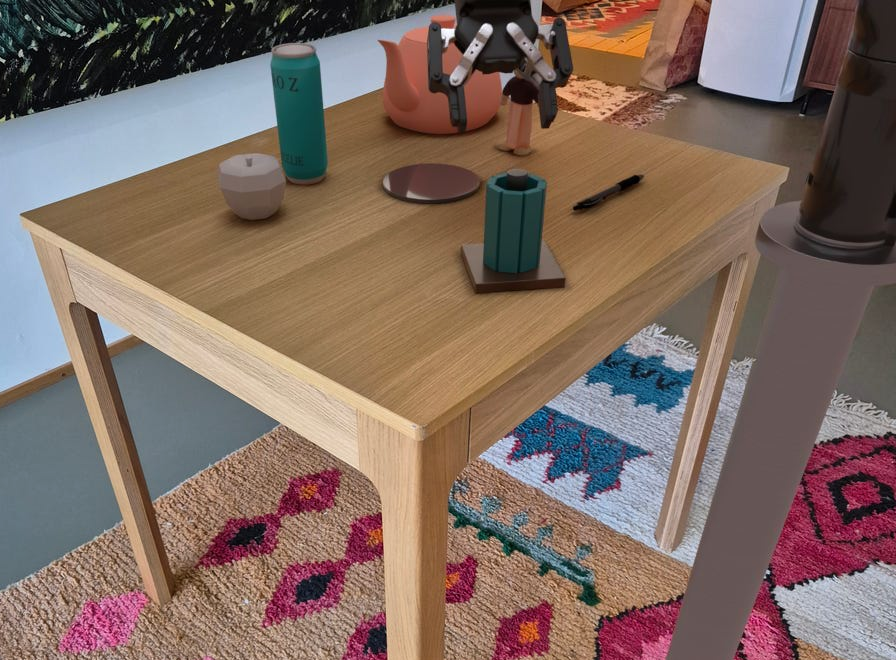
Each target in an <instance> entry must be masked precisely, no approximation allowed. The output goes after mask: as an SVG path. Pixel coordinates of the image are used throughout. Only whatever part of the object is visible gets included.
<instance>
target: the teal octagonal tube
mask: <svg viewBox="0 0 896 660" xmlns="http://www.w3.org/2000/svg"><path fill="white" fill-rule="evenodd" d="M506 179H507V171H506V172H502V173H498V174H494V175H492V176H490V177H489V178H488V179H487V183H486V185H485V204H484V205H485V207H484V229H483V243H484V251H483V262H484V264H485V265H487V266H488V267H490V268H491V269H493V270H494V271H496V270H498V271H499V272H508V273H517V272H518V271H519V272H520V273H522V272H526V271H529V270H532V269H535V268H536V267H538V264H539V261H540V254H541V243H542V240H543V230H544V220H545V219H544V218H545V210H546V208H545V207H546V199H547V198H546V197H547V186H548V181H546V179H545V178H543V177H540V176H539V175H537V174H534V173H532V174H531V173H530V172H528V180H527V191H523V192H522V191H509V190H506Z"/></svg>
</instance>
